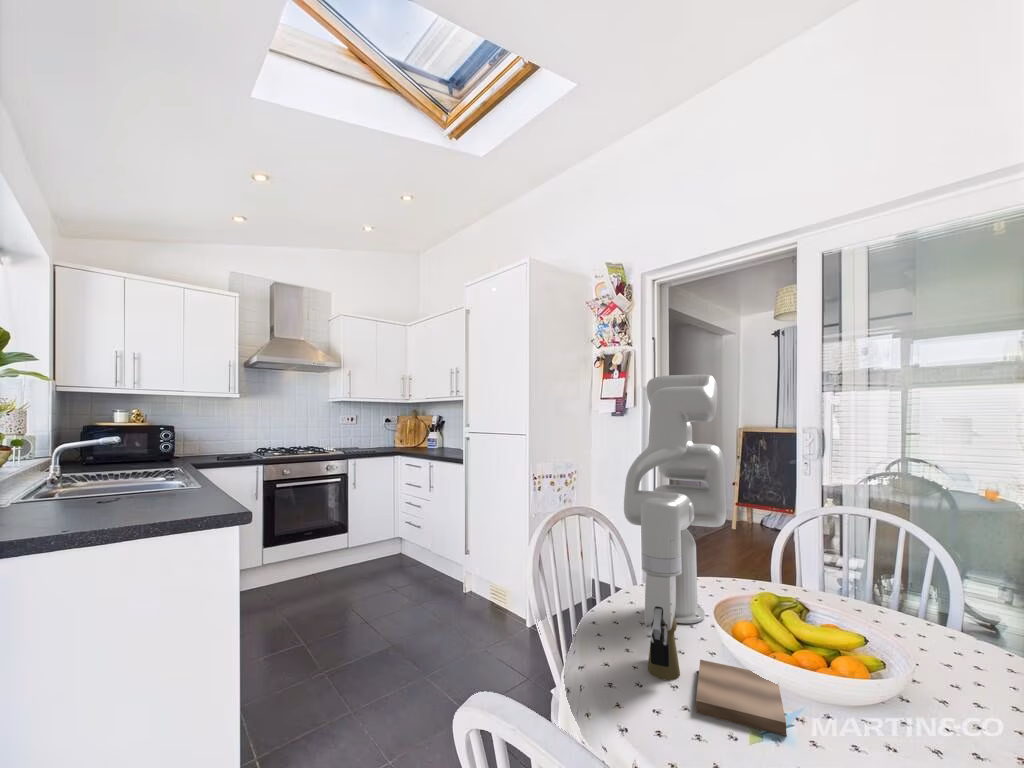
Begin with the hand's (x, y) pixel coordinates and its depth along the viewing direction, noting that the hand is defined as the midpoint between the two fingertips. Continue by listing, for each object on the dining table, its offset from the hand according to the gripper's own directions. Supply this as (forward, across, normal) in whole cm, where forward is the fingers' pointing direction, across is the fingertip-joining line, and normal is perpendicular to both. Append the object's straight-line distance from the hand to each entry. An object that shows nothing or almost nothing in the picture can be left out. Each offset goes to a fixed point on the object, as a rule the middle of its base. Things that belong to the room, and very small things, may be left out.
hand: (663, 652), depth 89 cm
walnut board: (+3, +4, +13) cm, 14 cm away
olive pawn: (+4, 0, 0) cm, 4 cm away
